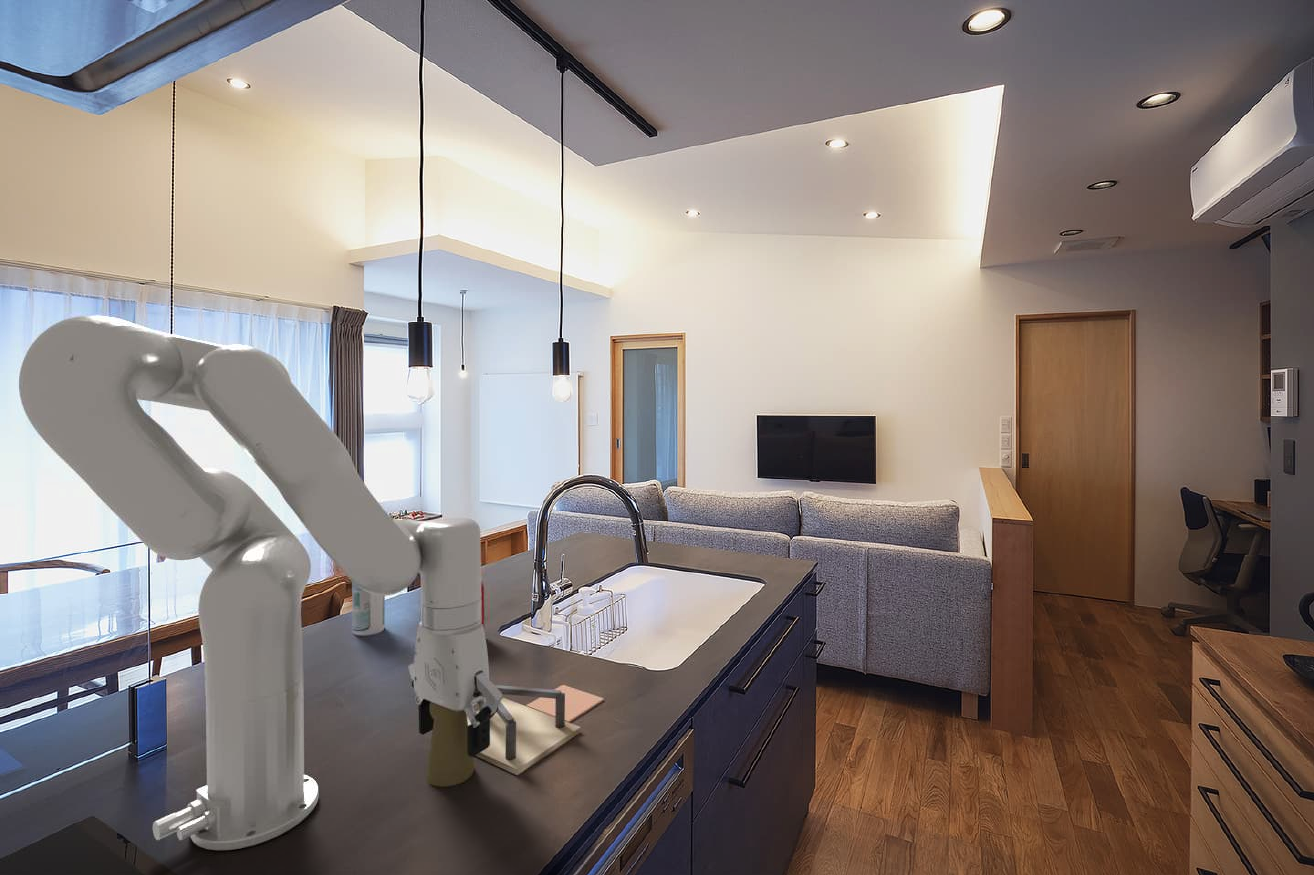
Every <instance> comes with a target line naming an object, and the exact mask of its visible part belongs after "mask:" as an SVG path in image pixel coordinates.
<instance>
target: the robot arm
mask: <svg viewBox="0 0 1314 875" xmlns="http://www.w3.org/2000/svg"><path fill="white" fill-rule="evenodd" d="M18 378H19V379H18V390H19V397H20V403H21V405H22V408H23V411H24V413H25V415H26V417H27V418H28V420H29V422H30V424H31V426H32V427H33V428H34V430H35V431H36V433H37V434H38V435H39V436H40V438H42V440H43V441H44V442H45V443H46V444H47V445H48V447H49V448H51V449H52V451H54V453H55V454H56V455H57V456H58V457H59V458H60V459H62V460H63V461H64V463H65V464H67V465H68V467H69V468H71V469H72V470H73V471H74V472H75V474H77V476H79V478H81V479H82V480H83V481H84V482H85V483H86V485H87V486H88V487H89V488H90V489H91V490H92V491H93V493H94V494H95V495H96V496H97V497H98V498H99V499H100V500H101V501H102V502H103V503H104V504H105V505H106V506H107V507H108V508H109V509H110V510H111V511H112V512H113V513H114V514H115V515H116V516H117V517H118V518H119V519H120V521H122V522H123V523H124V524H125V525H126V527H127V528H128V529H130V530H131V531H132V532H133V533H134V534H135V536H136V537H137V538H138V539H139V540H140V541H141V542H142V543H143V544H144V545H145V546H146V547H147V548H148V549H149V550H151V551H153V553H155V554H156V555H158V556H160V557H162V558H165V559H168V560H175V561H190V560H195V559H197V558H200V559H201V560H202V561H203V562H204V563H205V564H206V565H207V566H208V567H209V568H210V569H211V571H210V573H209V574H208V575H207V577H206V579H205V581H204V583H203V585H202V589H201V590H200V591H201V592H200V595H199V600H198V607H197V608H198V610H197V611H198V622H199V624H198V625H199V630H200V637H201V641H202V647H203V648H202V649H203V659H204V660H203V662H204V693H205V694H204V697H205V724H206V725H205V727H206V729H205V736H206V737H205V738H206V740H205V741H206V742H205V744H206V785H205V786H202V787H200V788H198V789H196V799H195V800H194V801H191V802H189V803H187V807H185V808H183V809H181V810H179V811H177V812H173V813H171V814H169V815H166V816H163V817H162V818H160V819H157V820H155V821H153V822H152V832H153V838H154V839H155V840H156V841H160V840H161V839H163V838H166V837H168V836H170V835H172V834H174V833H176V836H177V838H178V840H179V841H183V840H185V839H187V838H188V837H190V839H191V841H192V842H193V843H194V844H195V845H196V846H198V847H200V848H202V849H205V850H211V851H212V850H213V851H232V850H237V849H242V848H243V849H244V848H248V847H253V846H256V845H258V844H261V843H264V842H267V841H270V840H271V839H274V838H277V837H279V836H281V835H283V834H284V833H286V832H288V831H290V830H291V829H293V828H294V827H296V826H297V825H299V824H300V823H302V821H304V820H305V819H306V818H307V817H308V816H309V815H310V814H311V813H312V812H313V811H314V809H315V807H316V805H317V803H318V801H319V784H318V782H316V780H315V779H314V778H312V777H311V776H308V775H306V774H305V747H304V746H305V738H304V736H305V734H304V731H305V730H304V727H305V726H304V724H305V722H304V714H305V713H304V712H305V711H304V653H303V651H304V650H303V634H302V632H303V631H302V630H303V629H302V612H301V611H302V610H301V609H302V598H303V593H304V592H305V589H306V586H307V584H308V582H309V579H310V577H311V568H312V567H311V559H310V556H309V555H310V554H309V553H308V551H307V549H306V547H305V546H304V545H303V543H302V542H301V541H300V540H299V539H298V537H297V536H296V535H295V534H294V533H293V532H292V531H291V530H290V528H289V527H287V525H286V524H285V523H284V522H283V520H282V519H280V518H279V516H277V514H276V513H275V512H274V511H273V510H272V509H271V508H270V506H268V504H267V503H266V502H265V501H264V500H263V499H262V498H261V496H259V495H258V493H257V492H256V491H255V490H253V488H252V487H251V486H250V485H248V484H247V482H245V481H244V480H242V479H241V478H239V477H238V476H236V475H235V474H233V473H232V472H231V473H230V472H229V471H225V470H223V469H222V470H221V469H218V468H217V469H216V468H202V467H201V466H200V465H198V464H197V462H195V460H194V459H192V457H191V456H190V455H189V454H188V453H187V452H186V451H185V450H184V449H183V448H182V446H180V445H179V443H178V442H177V441H176V439H174V437H173V436H172V435H171V434H170V433H169V432H168V431H167V430H166V429H165V428H164V427H163V426H161V425H160V424H159V423H158V422H157V421H156V420H155V419H154V418H152V417H151V416H150V415H149V414H148V413H147V412H146V411H145V410H144V408H142V405H140V403H139V401H138V400H140V401H147V402H148V401H149V402H154V403H160V404H166V405H173V406H177V407H182V408H183V407H184V408H189V409H195V410H201V411H206V412H209V413H210V415H211V416H212V417H213V418H214V419H215V420H216V421H217V422H218V424H220V426H221V427H223V429H224V430H225V431H226V432H227V433H228V434H229V436H231V438H232V439H233V440H234V441H235V442H236V443H237V444H238V446H240V448H241V449H242V450H243V451H244V452H245V453H246V455H248V456H249V457H250V459H251V460H252V461H253V462H254V463H255V464H256V465H257V466H258V467H259V469H261V471H262V472H263V473H264V474H265V475H266V477H267V478H268V479H269V480H270V481H271V482H272V484H274V486H275V487H276V488H277V490H278V491H279V493H280V495H281V496H282V498H283V500H284V501H285V502H286V504H287V505H288V506H289V507H290V509H292V511H293V513H294V514H295V515H296V516H297V518H298V519H299V521H300V522H301V523H302V525H303V526H304V528H305V529H306V531H308V533H309V534H310V536H311V537H312V538H313V539H314V541H315V542H316V543H317V545H318V546H319V547H320V548H321V549H322V550H323V551H324V553H325V555H327V556H328V557H329V558H330V559H331V560H332V561H333V562H334V563H335V565H336V566H337V567H338V568H339V569H340V570H341V572H342V573H343V574H345V575H346V577H347V578H348V579H349V580H350V581H351V582H353V583H354V584H355V585H357V586H358V587H359V588H360V589H362V590H364V591H366V592H367V593H370V594H373V595H379V596H385V597H386V596H393V595H395V594H398V593H401V592H403V591H404V590H406V589H407V588H408V587H409V586H410V585H411V584H412V583H413V582H414V580H416V578H417V576H418V574H419V576H420V611H421V612H420V614H421V615H420V618H421V621H419V624H418V627H417V629H416V631H417V632H416V636H415V637H416V638H415V644H414V645H415V646H414V657H413V662H412V663H410V664H409V665H408V671H409V672H408V673H409V675H410V678H411V680H412V681H411V686H412V688H413V691H414V692H415V694H416V695H415V698H414V699H415V702H416V704H417V705H418V707H417V708H418V733H419V734H420V735H425V734H427V733H429V732H431V731H433V724H434V719H433V718H432V716H431V714H430V702H433V703H436V704H438V705H441V706H443V707H445V708H448V709H451V710H453V711H462V710H465V713H466V715H467V717H468V719H469V721H470V723H471V724H470V725H469V726H467V748H468V756H470V757H476V756H475V755H477V754H478V753H480V752H482V751H483V750H485V749H487V748H488V747H489V746H490V719H491V718H493V716H494V714H495V713H496V712H497V711H498V707H499V704H500V702H501V700H502V698H504V697H503V694H502V693H501V692H500V691H499V690H498V689H497V687H496V686H495V685H496V684H494V683H493V682H492V681H491V680H490V669H489V668H490V667H489V656H488V655H489V654H488V646H487V640H486V634H485V627H484V628H483V624H481V622H482V611H481V581H482V580H481V578H482V556H481V555H482V552H481V550H482V546H481V545H482V544H481V543H482V542H481V538H482V536H481V529H480V525H479V524H478V522H477V521H476V520H473V519H472V518H466V517H447V518H438V519H433V520H411V519H410V520H408V519H396V518H394V519H393V518H392V517H391V516H390V514H388V512H387V511H386V510H385V509H384V508H383V507H382V506H381V504H380V503H379V502H378V500H377V499H376V498H375V496H374V494H372V492H370V490H369V488H368V487H367V485H366V484H365V483H364V480H363V479H362V477H361V476H360V474H359V473H358V471H357V469H356V466H355V464H354V462H353V460H352V457H351V455H350V453H349V451H348V450H347V448H346V446H345V445H344V443H343V442H342V440H341V439H340V438H339V437H338V436H337V434H336V433H335V432H334V431H333V430H332V429H331V427H330V426H329V425H328V424H327V422H325V420H324V419H323V418H322V417H321V416H320V415H319V414H318V412H316V410H315V409H314V408H313V406H312V405H311V404H310V403H309V402H308V401H307V399H306V398H304V396H303V395H302V394H301V392H300V391H299V389H298V388H297V387H296V386H295V385H294V384H293V382H292V380H291V377H290V374H289V372H288V370H287V368H286V367H285V366H284V365H283V363H282V362H281V361H279V359H277V358H276V357H274V356H273V355H271V354H269V353H268V352H265V351H262V350H261V349H259V348H256V347H253V346H249V345H244V344H243V345H242V344H231V345H224V344H223V345H222V344H216V343H211V342H208V341H203V340H197V339H193V338H188V337H184V336H180V335H177V334H170V333H166V332H162V331H158V330H154V329H151V328H147V327H144V326H143V325H142V326H141V325H138V324H135V323H132V322H130V321H127V320H124V319H121V318H116V317H109V316H104V315H79V316H74V317H70V318H67V319H63V320H61V321H58V322H56V323H54V324H52V325H50V326H49V327H48V328H47V329H45V330H44V331H43V332H42V333H40V334H39V335H38V336H37V338H36V339H35V340H34V341H33V342H32V344H30V347H29V348H28V350H27V351H26V353H25V356H24V358H23V360H22V364H21V366H20V370H19V376H18ZM474 705H478V707H479V706H480V708H481V711H480V712H479V713H478V714H477V713H476V709H475V707H474Z"/></svg>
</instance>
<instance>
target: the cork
mask: <svg viewBox="0 0 1314 875" xmlns="http://www.w3.org/2000/svg"><path fill="white" fill-rule="evenodd" d="M430 714H431V716H432V718H433V719H434V724H433V730H431V731H432V732H431V739H430V740H431V741H430V744H429V745H430V747H429V754H428V761H427V769H426V776H425V779H426V782H427V783H428V784H430V785H431V786H434V787H440V788H441V787H442V788H443V787H444V788H447V787H452V786H453V787H454V786H456V785H459V784H461V783H463V782H465V781H468V779H470V778H471V777H472V776H473V774H474V771H475V766H474V758H473V757H470V756H468V748H467V726H468V721H467V715H466V713H465V710H462V711H453V710H451V709H448V708H445V707H443V706H441V705H438V704H436V703H433V702H430Z"/></svg>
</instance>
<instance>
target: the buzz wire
mask: <svg viewBox="0 0 1314 875" xmlns="http://www.w3.org/2000/svg"><path fill="white" fill-rule="evenodd" d="M494 685H495V686H496V687H497V689H498V690H499V691H500V692H501V693H502V695H508V696H520V697H533V698H540V697H541V698H553V699H556V705H555V717H553V716H550V715H547V714H545V713H542V712H540V711H537V710H534V709H532V708H529V707H526V705H523V704H521V703H518V702H515V701H513V700H510V699H508V698H505V697H502V700H501V702H500V704H499V707H498V711H497V712H496V713H495V714H494V716H493V718H491V719H490V746H489V747H488V748H487V749H485V750H483V751H482V752H480V753H478V754H477V755H475V756H474V757H477V758H478V759H481V760H483V761H486V762H488V763H490V764H492V765H494V766H496V767H499V768H501V769H503V770H505V771H507V772H510V773H511V774H513V775H515V776H518V775H520V774H522V773H523V772H524V771H526V770H528V768H531V767H532V766H533V765H534V764H536V763H538V762H539V761H540V760H543V758H545V757H546V756H548V755H549V754H551V753H552V752H554V751H555V750H557V749H558V748H559V747H561V746H562V745H564V744H566V743H567V742H569V741H570V740H571V739H573V738H574V737H575V736H577V735H579V734H580V733H581V728H582V727H581V726H580V725H579V726H578V725H576V724H573V723H571V722H566V721H565V693H561V690H555V689H551V688H550V689H549V688H536V687H527V686H526V687H525V686H512V685H500V684H494ZM475 711H476V710H475ZM480 711H481V708H480V706H479V705H478V710H477V711H476V713H477V714H478V713H479V712H480ZM467 721H468V726H469V725H470V724H471V723H470V721H469V719H468V717H467Z"/></svg>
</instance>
